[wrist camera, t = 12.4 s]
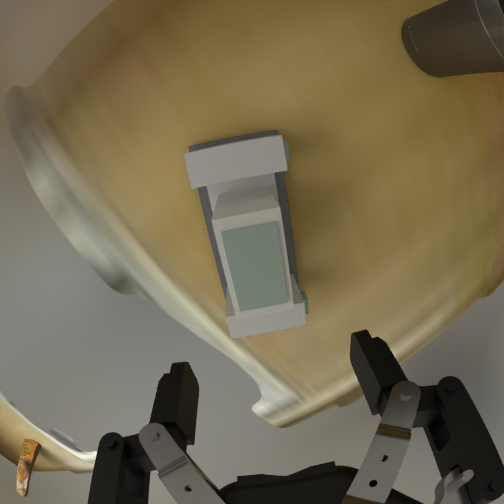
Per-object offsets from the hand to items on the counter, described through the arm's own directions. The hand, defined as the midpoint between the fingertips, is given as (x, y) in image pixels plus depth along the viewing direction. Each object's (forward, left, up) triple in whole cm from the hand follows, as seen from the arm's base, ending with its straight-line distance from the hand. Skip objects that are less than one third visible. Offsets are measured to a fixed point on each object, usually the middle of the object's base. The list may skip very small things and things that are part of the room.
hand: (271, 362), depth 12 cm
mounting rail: (0, 0, -20) cm, 20 cm away
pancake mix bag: (+103, +69, -21) cm, 125 cm away
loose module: (0, 0, -19) cm, 19 cm away
